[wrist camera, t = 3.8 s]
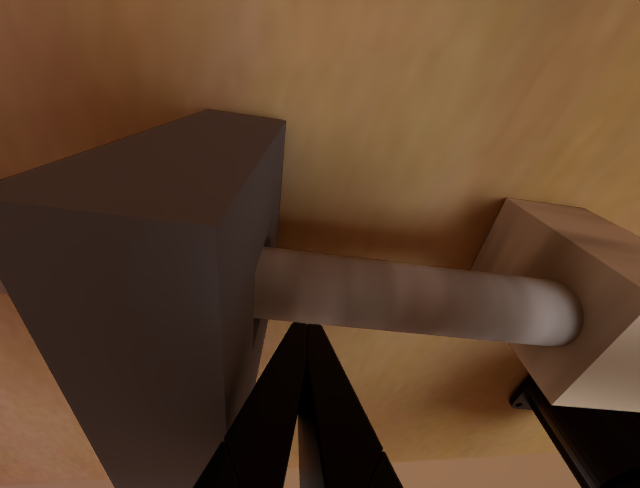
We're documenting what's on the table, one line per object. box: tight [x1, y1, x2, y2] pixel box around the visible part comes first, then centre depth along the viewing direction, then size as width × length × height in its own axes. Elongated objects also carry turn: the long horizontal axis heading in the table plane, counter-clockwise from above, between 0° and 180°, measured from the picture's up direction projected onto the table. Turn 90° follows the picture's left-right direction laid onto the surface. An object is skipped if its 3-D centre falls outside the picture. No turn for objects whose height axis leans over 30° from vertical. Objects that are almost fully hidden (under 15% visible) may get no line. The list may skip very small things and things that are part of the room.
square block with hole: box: [0, 109, 286, 488], centre depth 10 cm, size 9×3×9 cm, turn 172°
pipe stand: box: [0, 198, 640, 412], centre depth 12 cm, size 12×36×7 cm, turn 82°
